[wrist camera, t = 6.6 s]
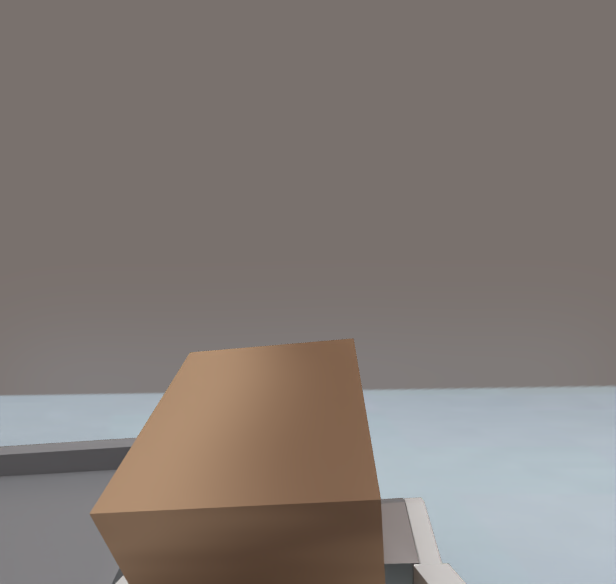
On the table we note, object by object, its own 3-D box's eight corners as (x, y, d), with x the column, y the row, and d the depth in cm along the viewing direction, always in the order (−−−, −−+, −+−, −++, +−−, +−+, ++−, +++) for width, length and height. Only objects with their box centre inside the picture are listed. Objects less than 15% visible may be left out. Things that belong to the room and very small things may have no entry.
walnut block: (233, 772, 10) (89, 513, 5) (259, 584, 14) (190, 352, 9) (395, 774, 9) (380, 499, 5) (372, 580, 13) (353, 338, 9)
